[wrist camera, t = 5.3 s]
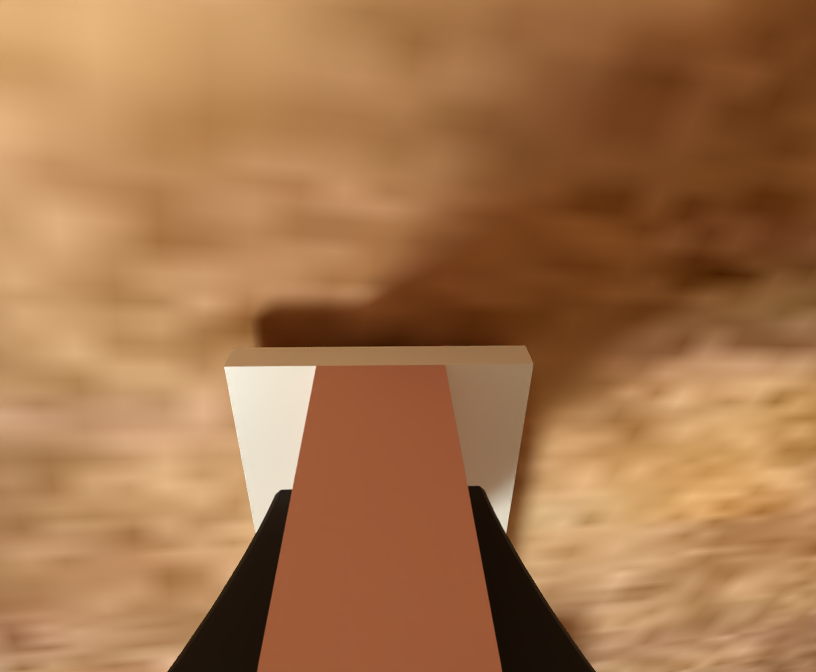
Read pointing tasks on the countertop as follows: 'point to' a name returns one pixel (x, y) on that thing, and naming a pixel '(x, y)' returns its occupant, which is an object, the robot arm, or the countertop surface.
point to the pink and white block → (379, 498)
